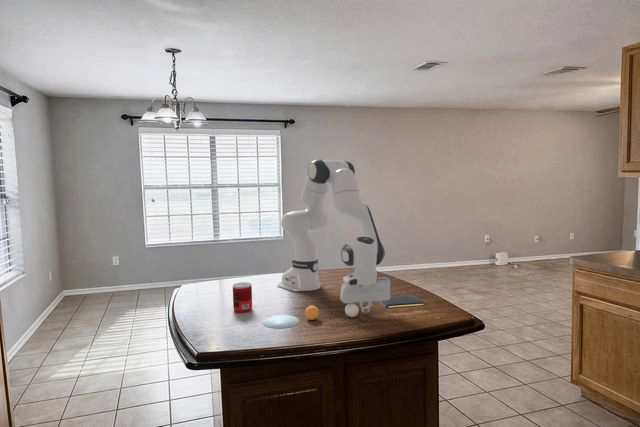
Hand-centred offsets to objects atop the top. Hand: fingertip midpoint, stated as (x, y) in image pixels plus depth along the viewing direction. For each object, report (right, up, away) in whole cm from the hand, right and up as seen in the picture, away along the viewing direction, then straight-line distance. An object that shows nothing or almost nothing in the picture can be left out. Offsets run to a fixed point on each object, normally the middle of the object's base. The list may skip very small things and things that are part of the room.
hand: (365, 312), depth 169 cm
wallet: (+17, -1, +17) cm, 24 cm away
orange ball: (-21, +1, -4) cm, 22 cm away
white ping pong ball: (-6, +1, -1) cm, 6 cm away
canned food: (-51, -2, +9) cm, 52 cm away
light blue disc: (-33, -2, -6) cm, 34 cm away
